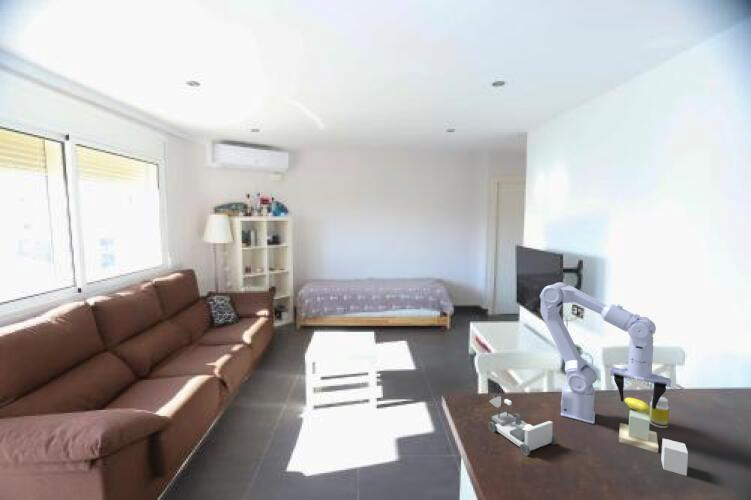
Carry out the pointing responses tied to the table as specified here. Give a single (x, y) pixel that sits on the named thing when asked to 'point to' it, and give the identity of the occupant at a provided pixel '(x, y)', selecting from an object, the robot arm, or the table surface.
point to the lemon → (637, 405)
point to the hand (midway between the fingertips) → (637, 403)
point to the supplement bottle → (659, 413)
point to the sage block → (639, 425)
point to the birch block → (648, 445)
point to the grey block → (674, 456)
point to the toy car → (521, 429)
